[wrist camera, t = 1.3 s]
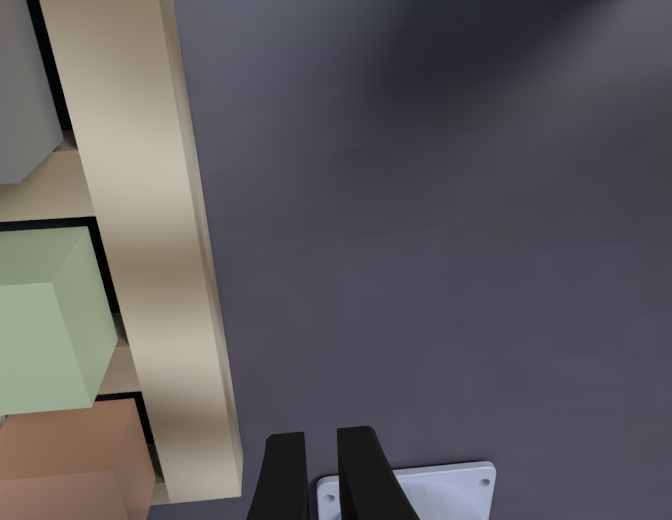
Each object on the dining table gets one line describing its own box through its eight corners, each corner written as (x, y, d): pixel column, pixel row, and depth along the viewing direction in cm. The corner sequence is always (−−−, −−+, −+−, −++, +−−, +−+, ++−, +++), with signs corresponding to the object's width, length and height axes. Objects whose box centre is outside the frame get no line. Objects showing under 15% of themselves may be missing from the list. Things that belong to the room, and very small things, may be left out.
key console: (243, 456, 24) (240, 496, 22) (-4, 479, 23) (-26, 523, 21) (156, -110, 14) (140, -116, 12) (-281, -100, 13) (-364, -106, 11)
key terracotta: (155, 478, 21) (139, 553, 19) (45, 488, 21) (13, 567, 18) (133, 398, 19) (112, 470, 17) (11, 408, 19) (-30, 484, 16)
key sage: (117, 339, 18) (91, 407, 15) (-14, 349, 18) (-63, 420, 15) (87, 226, 16) (51, 282, 13) (-62, 235, 16) (-128, 295, 13)
